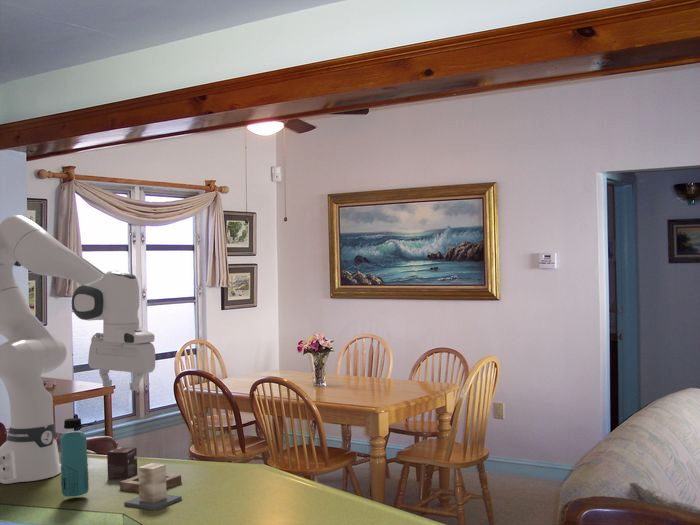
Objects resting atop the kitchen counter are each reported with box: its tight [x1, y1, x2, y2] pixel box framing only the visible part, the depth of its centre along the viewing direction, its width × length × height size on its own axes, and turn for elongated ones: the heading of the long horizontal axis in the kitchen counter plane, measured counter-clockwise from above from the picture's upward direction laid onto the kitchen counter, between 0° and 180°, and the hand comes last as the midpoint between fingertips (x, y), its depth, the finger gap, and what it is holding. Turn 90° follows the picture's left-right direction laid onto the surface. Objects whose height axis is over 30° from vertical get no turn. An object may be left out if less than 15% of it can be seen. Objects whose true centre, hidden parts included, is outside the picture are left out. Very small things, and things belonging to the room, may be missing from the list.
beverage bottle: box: [59, 417, 90, 498], centre depth 188 cm, size 6×7×20 cm
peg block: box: [137, 462, 167, 503], centre depth 182 cm, size 4×4×8 cm
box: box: [106, 447, 139, 480], centre depth 209 cm, size 6×6×7 cm
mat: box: [123, 493, 183, 511], centre depth 182 cm, size 10×9×1 cm
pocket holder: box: [119, 472, 182, 493], centre depth 197 cm, size 11×11×2 cm
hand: (120, 388), depth 193 cm, fingers open, 8 cm apart
